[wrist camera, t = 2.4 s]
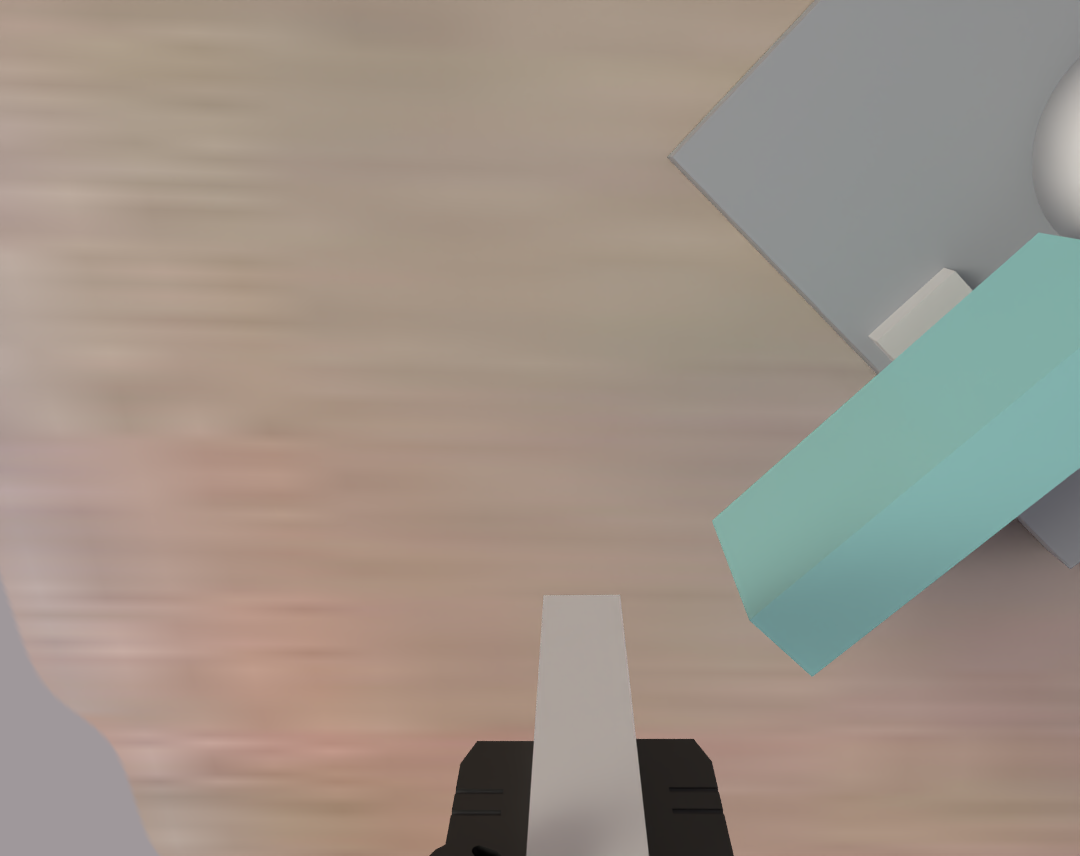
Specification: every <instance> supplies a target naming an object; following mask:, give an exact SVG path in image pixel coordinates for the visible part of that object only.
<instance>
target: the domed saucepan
mask: <svg viewBox="0 0 1080 856" xmlns="http://www.w3.org/2000/svg"><path fill="white" fill-rule="evenodd" d="M1079 468H1080V239H1074V238H1068V237H1062V236H1056V235H1050V234H1044V233H1037V234H1036V235H1035V236H1034V237H1033V238H1032V239H1031V240H1030V241H1028V242H1027V243H1026V244H1025V245H1024V246H1023V247H1022V248H1020V249H1019V250H1018V251H1017V252H1016V253H1015V254H1014V255H1013V256H1011V257H1010V258H1009V259H1008V260H1007V261H1006V262H1005V263H1004V264H1002V265H1001V266H1000V267H999V268H998V269H997V270H996V271H994V272H993V273H992V274H991V275H990V276H989V277H988V278H987V279H985V280H984V281H983V282H982V283H981V284H980V285H979V286H977V287H976V288H975V289H974V290H973V291H972V292H971V293H970V294H968V295H967V296H966V297H965V298H964V299H963V300H962V301H960V302H959V303H958V304H957V305H956V306H955V307H954V308H953V309H951V310H950V311H949V312H948V313H947V314H946V315H945V316H943V317H942V318H941V319H940V320H939V321H938V322H937V323H936V324H934V325H933V326H932V327H931V328H930V329H929V330H928V331H926V332H925V333H924V334H923V335H922V336H921V337H920V338H919V339H917V340H916V341H915V342H914V343H913V344H912V345H911V346H909V347H908V348H907V349H906V350H905V351H904V352H903V353H902V354H900V355H899V356H898V357H897V358H896V359H895V360H894V361H892V362H891V363H890V364H889V365H888V366H887V367H886V368H885V369H883V370H882V371H881V372H880V373H879V374H878V375H877V376H875V377H874V378H873V379H872V380H871V381H870V382H869V383H868V384H866V385H865V386H864V387H863V388H862V389H861V390H860V391H858V392H857V393H856V394H855V395H854V396H853V397H852V398H851V399H849V400H848V401H847V402H846V403H845V404H844V405H843V406H841V407H840V408H839V409H838V410H837V411H836V412H835V413H834V414H832V415H831V416H830V417H829V418H828V419H827V420H826V421H824V422H823V423H822V424H821V425H820V426H819V427H818V428H817V429H815V430H814V431H813V432H812V433H811V434H810V435H809V436H807V437H806V438H805V439H804V440H803V441H802V442H801V443H800V444H798V445H797V446H796V447H795V448H794V449H793V450H792V451H790V452H789V453H788V454H787V455H786V456H785V457H784V458H783V459H781V460H780V461H779V462H778V463H777V464H776V465H775V466H773V467H772V468H771V469H770V470H769V471H768V472H767V473H766V474H764V475H763V476H762V477H761V478H760V479H759V480H758V481H756V482H755V483H754V484H753V485H752V486H751V487H750V488H749V489H747V490H746V491H745V492H744V493H743V494H742V495H741V496H739V497H738V498H737V499H736V500H735V501H734V502H733V503H732V504H730V505H729V506H728V507H727V508H726V509H725V510H724V511H722V512H721V513H720V514H719V515H718V516H717V517H716V518H715V519H713V520H712V522H713V525H714V527H715V530H716V533H717V535H718V538H719V541H720V543H721V546H722V549H723V551H724V554H725V557H726V559H727V562H728V565H729V567H730V570H731V573H732V575H733V578H734V581H735V583H736V586H737V589H738V591H739V594H740V597H741V599H742V602H743V605H744V607H745V610H746V613H747V615H748V618H749V620H750V621H751V622H752V623H753V624H754V625H755V626H756V627H757V628H759V629H760V630H761V631H762V632H763V633H764V634H765V635H766V636H767V637H769V638H770V639H771V640H772V641H773V642H774V643H775V644H776V645H777V646H779V647H780V648H781V649H782V650H783V651H784V652H785V653H786V654H787V655H789V656H790V657H791V658H792V659H793V660H794V661H795V662H796V663H797V664H798V665H800V666H801V667H802V668H803V669H804V670H805V671H806V672H807V673H808V674H810V675H811V676H814V675H815V674H816V673H818V672H819V671H820V670H821V669H823V668H824V667H825V666H827V665H828V664H829V663H830V662H832V661H833V660H834V659H836V658H837V657H838V656H839V655H841V654H842V653H843V652H845V651H846V650H847V649H848V648H850V647H851V646H852V645H853V644H855V643H856V642H857V641H859V640H860V639H861V638H862V637H864V636H865V635H866V634H868V633H869V632H870V631H871V630H873V629H874V628H875V627H877V626H878V625H879V624H880V623H882V622H883V621H884V620H886V619H887V618H888V617H889V616H891V615H892V614H893V613H894V612H896V611H897V610H898V609H900V608H901V607H902V606H903V605H905V604H906V603H907V602H909V601H910V600H911V599H912V598H914V597H915V596H916V595H918V594H919V593H920V592H921V591H923V590H924V589H925V588H927V587H928V586H929V585H930V584H932V583H933V582H934V581H935V580H937V579H938V578H939V577H941V576H942V575H943V574H944V573H946V572H947V571H948V570H950V569H951V568H952V567H953V566H955V565H956V564H957V563H959V562H960V561H961V560H962V559H964V558H965V557H966V556H967V555H969V554H970V553H971V552H973V551H974V550H975V549H976V548H978V547H979V546H980V545H982V544H983V543H984V542H985V541H987V540H988V539H989V538H991V537H992V536H993V535H994V534H996V533H997V532H998V531H1000V530H1001V529H1002V528H1003V527H1005V526H1006V525H1007V524H1008V523H1010V522H1011V521H1012V520H1014V519H1015V518H1016V517H1017V516H1019V515H1020V514H1021V513H1023V512H1024V511H1025V510H1026V509H1028V508H1029V507H1030V506H1032V505H1033V504H1034V503H1035V502H1037V501H1038V500H1039V499H1041V498H1042V497H1043V496H1044V495H1046V494H1047V493H1048V492H1049V491H1051V490H1052V489H1053V488H1055V487H1056V486H1057V485H1058V484H1060V483H1061V482H1062V481H1064V480H1065V479H1066V478H1067V477H1069V476H1070V475H1071V474H1073V473H1074V472H1075V471H1076V470H1078V469H1079Z"/></svg>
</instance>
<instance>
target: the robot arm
mask: <svg viewBox="0 0 1080 856" xmlns="http://www.w3.org/2000/svg"><path fill="white" fill-rule="evenodd" d="M430 856H734V855H733V851H732V846H731V842H730V838H729V834H728V829H727V825H726V821H725V816H724V814H723V808H722V804H721V799H720V795H719V792H718V786H717V782H716V778H715V774H714V769H713V765H712V761H711V760H710V759H709V758H708V756H707V755H706V754H705V753H704V751H703V750H702V749H701V748H700V746H699V745H698V744H697V743H696V741H695V740H694V739H636V735H635V726H634V717H633V708H632V699H631V690H630V680H629V671H628V662H627V653H626V644H625V635H624V626H623V617H622V608H621V599H620V595H544V598H543V613H542V628H541V643H540V658H539V673H538V688H537V703H536V718H535V733H534V741H477V742H476V744H475V745H474V746H473V748H472V749H471V750H470V752H469V753H468V754H467V756H466V757H465V758H464V760H463V761H462V762H461V764H460V770H459V775H458V780H457V786H456V794H455V796H454V802H453V807H452V815H451V818H450V823H449V829H448V834H447V839H446V845H444V846H442V847H440V848H438V849H436V850H435V851H434V852H433V853H432V854H431V855H430Z"/></svg>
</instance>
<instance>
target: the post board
mask: <svg viewBox="0 0 1080 856" xmlns="http://www.w3.org/2000/svg"><path fill="white" fill-rule="evenodd" d="M667 158H668V159H669V160H670V161H671V162H672V163H673V164H674V165H675V166H676V167H677V168H678V169H679V170H680V171H681V172H682V173H683V174H684V175H685V176H686V177H687V178H688V179H689V180H690V181H691V182H692V183H693V184H694V185H695V186H696V188H697V189H698V190H699V191H700V192H701V193H702V194H703V195H704V196H705V197H706V198H707V199H708V200H709V201H710V202H711V203H712V204H713V205H714V206H715V207H716V208H717V209H718V210H719V211H720V212H721V213H722V214H723V215H724V216H725V217H726V219H727V220H728V221H729V222H730V223H731V224H732V225H733V226H734V227H735V228H736V229H737V230H738V231H739V232H740V233H741V234H742V235H743V236H744V237H745V238H746V239H747V240H748V241H749V242H750V243H751V244H752V245H753V246H754V247H755V248H756V250H757V251H758V252H759V253H760V254H761V255H762V256H763V257H764V258H765V259H766V260H767V261H768V262H769V263H770V264H771V265H772V266H773V267H774V268H775V269H776V270H777V271H778V272H779V273H780V274H781V275H782V276H783V277H784V278H785V279H786V281H787V282H788V283H789V284H790V285H791V286H792V287H793V288H794V289H795V290H796V291H797V292H798V293H799V294H800V295H801V296H802V297H803V298H804V299H805V300H806V301H807V302H808V303H809V304H810V305H811V306H812V307H813V308H814V309H815V310H816V312H817V313H818V314H819V315H820V316H821V317H822V318H823V319H824V320H825V321H826V322H827V323H828V324H829V325H830V326H831V327H832V328H833V329H834V330H835V331H836V332H837V333H838V334H839V335H840V336H841V337H842V338H843V339H844V340H845V341H846V343H847V344H848V345H849V346H850V347H851V348H852V349H853V350H854V351H855V352H856V353H857V354H858V355H859V356H860V357H861V358H862V359H863V360H864V361H865V362H866V363H867V364H868V365H869V366H870V367H871V368H872V369H873V370H874V371H875V372H876V374H877V375H878V374H879V373H880V372H881V371H882V370H883V369H885V368H886V367H887V366H888V365H889V364H890V363H891V362H892V361H894V360H895V359H896V358H897V357H898V356H899V355H900V354H902V353H903V352H904V351H905V350H906V349H907V348H908V347H909V346H911V345H912V344H913V343H914V342H915V341H916V340H917V339H919V338H920V337H921V336H922V335H923V334H924V333H925V332H926V331H928V330H929V329H930V328H931V327H932V326H933V325H934V324H936V323H937V322H938V321H939V320H940V319H941V318H942V317H943V316H945V315H946V314H947V313H948V312H949V311H950V310H951V309H953V308H954V307H955V306H956V305H957V304H958V303H959V302H960V301H962V300H963V299H964V298H965V297H966V296H967V295H968V294H970V293H971V292H972V291H973V290H974V289H975V288H976V287H977V286H979V285H980V284H981V283H982V282H983V281H984V280H985V279H987V278H988V277H989V276H990V275H991V274H992V273H993V272H994V271H996V270H997V269H998V268H999V267H1000V266H1001V265H1002V264H1004V263H1005V262H1006V261H1007V260H1008V259H1009V258H1010V257H1011V256H1013V255H1014V254H1015V253H1016V252H1017V251H1018V250H1019V249H1020V248H1022V247H1023V246H1024V245H1025V244H1026V243H1027V242H1028V241H1030V240H1031V239H1032V238H1033V237H1034V236H1035V235H1036V234H1037V233H1044V234H1050V235H1056V236H1062V237H1068V238H1074V239H1080V0H815V1H814V2H813V3H812V4H811V5H810V6H809V7H808V8H807V9H806V10H805V11H804V12H803V13H802V14H801V15H800V17H799V18H798V19H797V20H796V21H795V22H794V23H793V24H792V25H791V26H790V27H789V28H788V29H787V30H786V31H785V32H784V34H783V35H782V36H781V37H780V38H779V39H778V40H777V41H776V42H775V43H774V44H773V45H772V46H771V47H770V48H769V49H768V50H767V52H766V53H765V54H764V55H763V56H762V57H761V58H760V59H759V60H758V61H757V62H756V63H755V64H754V65H753V66H752V67H751V69H750V70H749V71H748V72H747V73H746V74H745V75H744V76H743V77H742V78H741V79H740V80H739V81H738V82H737V83H736V84H735V86H734V87H733V88H732V89H731V90H730V91H729V92H728V93H727V94H726V95H725V96H724V97H723V98H722V99H721V100H720V101H719V102H718V104H717V105H716V106H715V107H714V108H713V109H712V110H711V111H710V112H709V113H708V114H707V115H706V116H705V117H704V118H703V119H702V121H701V122H700V123H699V124H698V125H697V126H696V127H695V128H694V129H693V130H692V131H691V132H690V133H689V134H688V135H687V136H686V138H685V139H684V140H683V141H682V142H681V143H680V144H679V145H678V146H677V147H676V148H675V149H674V150H673V151H672V152H671V153H670V154H669V156H668V157H667ZM1016 518H1017V519H1018V520H1019V521H1020V522H1021V523H1022V524H1023V525H1024V526H1025V527H1026V528H1027V530H1028V531H1029V532H1030V533H1031V534H1032V535H1033V536H1034V537H1035V538H1036V539H1037V540H1038V541H1039V542H1040V543H1041V544H1042V545H1043V546H1044V547H1045V548H1046V549H1047V550H1048V551H1049V552H1050V553H1052V554H1053V555H1054V556H1055V557H1056V558H1058V559H1059V560H1060V561H1061V562H1062V563H1064V564H1065V565H1066V566H1067V567H1068V568H1070V569H1071V568H1073V567H1074V566H1075V565H1077V564H1078V563H1079V562H1080V468H1079V469H1078V470H1076V471H1075V472H1074V473H1073V474H1071V475H1070V476H1069V477H1067V478H1066V479H1065V480H1064V481H1062V482H1061V483H1060V484H1058V485H1057V486H1056V487H1055V488H1053V489H1052V490H1051V491H1049V492H1048V493H1047V494H1046V495H1044V496H1043V497H1042V498H1041V499H1039V500H1038V501H1037V502H1035V503H1034V504H1033V505H1032V506H1030V507H1029V508H1028V509H1026V510H1025V511H1024V512H1023V513H1021V514H1020V515H1019V516H1017V517H1016Z"/></svg>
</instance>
